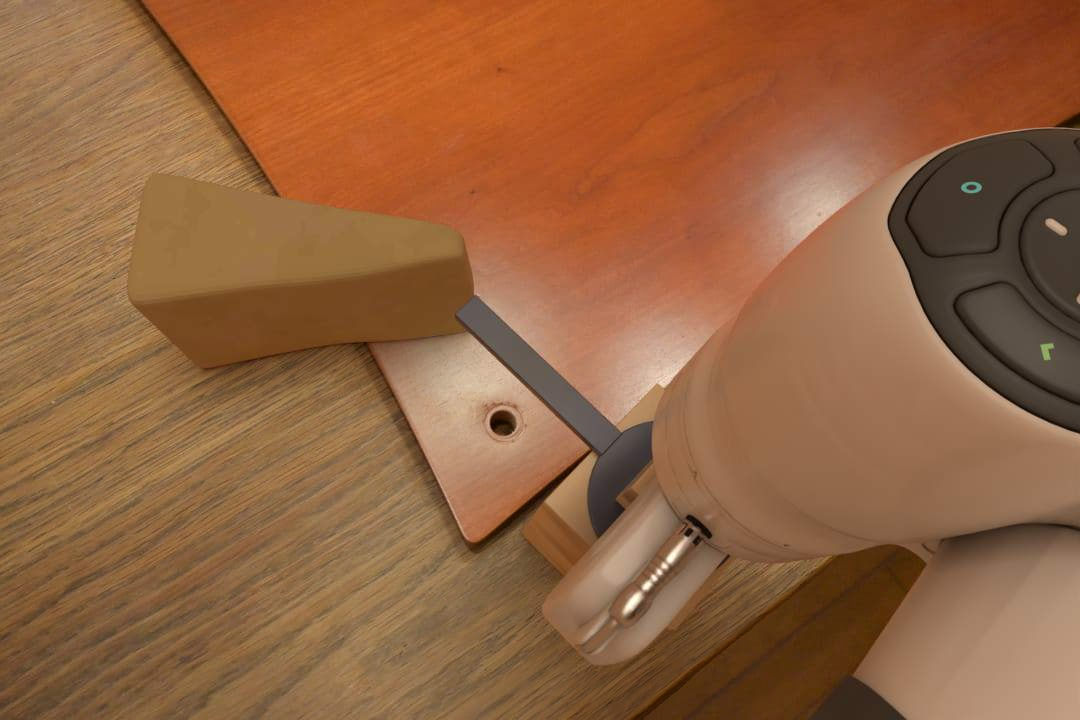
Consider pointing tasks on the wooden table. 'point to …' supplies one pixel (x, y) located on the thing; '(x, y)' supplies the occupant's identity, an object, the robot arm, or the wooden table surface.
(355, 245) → the tan wooden wedge
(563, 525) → the spoon stand
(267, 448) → the wooden table surface
